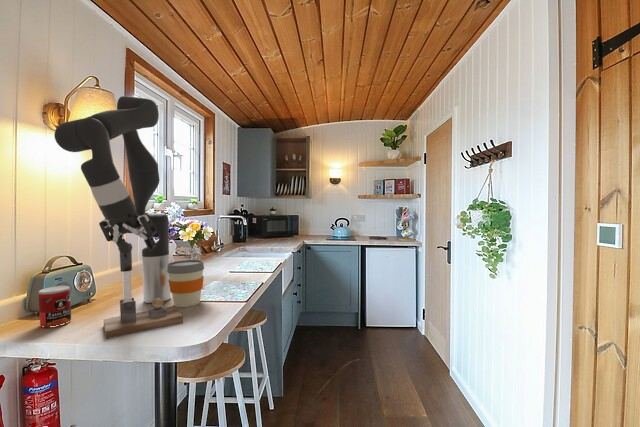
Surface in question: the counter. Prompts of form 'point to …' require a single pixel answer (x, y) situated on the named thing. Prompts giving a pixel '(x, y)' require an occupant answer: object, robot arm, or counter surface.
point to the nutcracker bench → (141, 318)
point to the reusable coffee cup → (186, 282)
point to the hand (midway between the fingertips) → (139, 250)
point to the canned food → (54, 306)
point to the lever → (126, 273)
